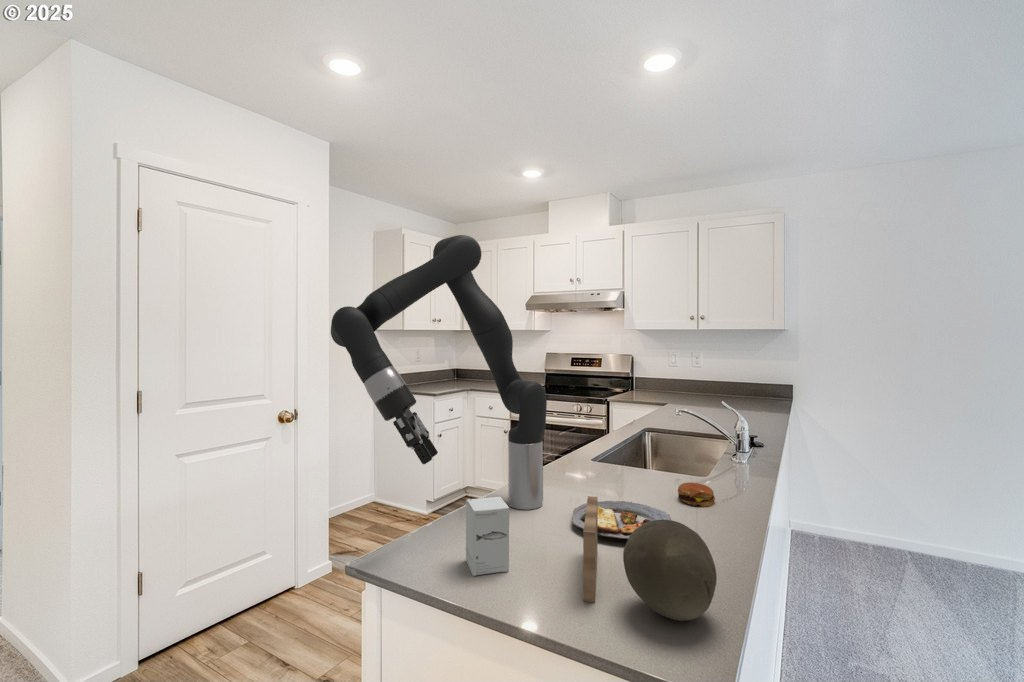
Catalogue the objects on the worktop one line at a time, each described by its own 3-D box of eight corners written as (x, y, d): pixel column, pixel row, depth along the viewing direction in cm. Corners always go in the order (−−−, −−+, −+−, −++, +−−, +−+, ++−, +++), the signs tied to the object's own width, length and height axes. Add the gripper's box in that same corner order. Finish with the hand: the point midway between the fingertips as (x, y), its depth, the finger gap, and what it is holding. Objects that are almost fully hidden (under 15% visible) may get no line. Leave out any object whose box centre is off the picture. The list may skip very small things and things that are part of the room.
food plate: (679, 551, 105) (678, 534, 105) (568, 543, 109) (568, 527, 109) (666, 513, 129) (666, 499, 129) (576, 507, 134) (576, 494, 134)
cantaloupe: (694, 591, 88) (694, 507, 88) (731, 640, 74) (732, 540, 74) (615, 593, 88) (615, 508, 88) (638, 642, 74) (638, 542, 74)
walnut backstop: (587, 553, 104) (587, 496, 104) (597, 554, 103) (597, 496, 103) (583, 601, 85) (583, 531, 85) (595, 602, 85) (595, 532, 85)
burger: (696, 494, 143) (696, 478, 142) (722, 504, 134) (722, 487, 134) (669, 499, 138) (669, 482, 138) (694, 510, 130) (694, 492, 130)
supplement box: (472, 577, 94) (472, 510, 94) (465, 560, 101) (465, 498, 101) (510, 572, 96) (510, 507, 95) (500, 555, 103) (500, 495, 103)
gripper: (398, 383, 97) (442, 453, 96) (411, 383, 111) (450, 444, 110) (365, 404, 96) (409, 475, 95) (382, 401, 111) (421, 463, 110)
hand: (431, 458), depth 103 cm, fingers open, 8 cm apart
